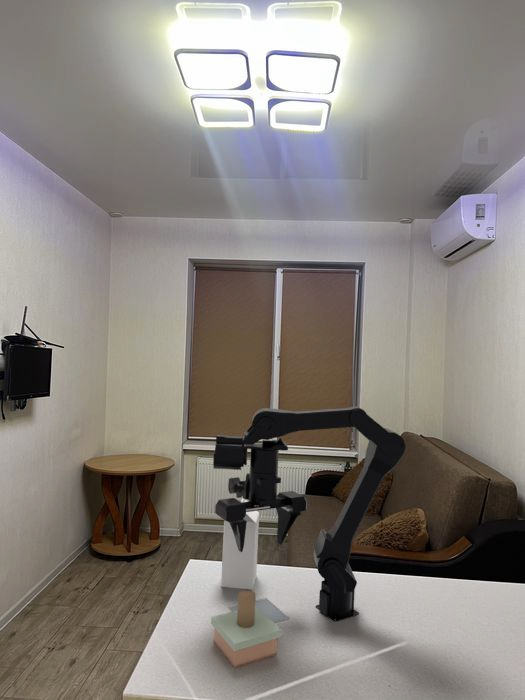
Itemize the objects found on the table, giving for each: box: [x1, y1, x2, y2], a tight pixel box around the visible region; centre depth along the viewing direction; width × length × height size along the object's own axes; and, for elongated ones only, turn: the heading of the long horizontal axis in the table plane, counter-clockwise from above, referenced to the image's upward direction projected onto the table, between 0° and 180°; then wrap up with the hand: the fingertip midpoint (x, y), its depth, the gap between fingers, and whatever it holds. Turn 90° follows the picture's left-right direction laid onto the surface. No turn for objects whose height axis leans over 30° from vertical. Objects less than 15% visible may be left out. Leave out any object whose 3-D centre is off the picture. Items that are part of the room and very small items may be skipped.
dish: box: [213, 628, 278, 669], centre depth 84 cm, size 8×8×4 cm
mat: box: [227, 597, 291, 624], centre depth 96 cm, size 9×9×1 cm
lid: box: [210, 589, 282, 651], centre depth 84 cm, size 9×9×6 cm
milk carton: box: [220, 497, 260, 591], centre depth 110 cm, size 7×7×19 cm
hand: (260, 547), depth 98 cm, fingers open, 9 cm apart
